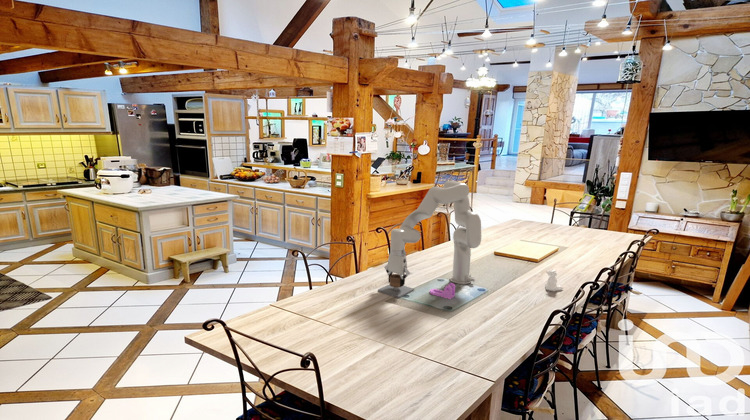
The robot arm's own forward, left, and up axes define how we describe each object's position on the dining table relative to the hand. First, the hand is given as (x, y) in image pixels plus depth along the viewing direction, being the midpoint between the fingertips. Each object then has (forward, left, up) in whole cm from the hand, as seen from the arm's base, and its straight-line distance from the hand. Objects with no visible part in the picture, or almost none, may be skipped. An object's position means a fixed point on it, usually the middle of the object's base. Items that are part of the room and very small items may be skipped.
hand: (396, 283), depth 220 cm
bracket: (-21, -12, -5) cm, 25 cm away
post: (0, 0, -4) cm, 4 cm away
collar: (0, 0, -1) cm, 1 cm away
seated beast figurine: (-64, -60, -4) cm, 88 cm away
